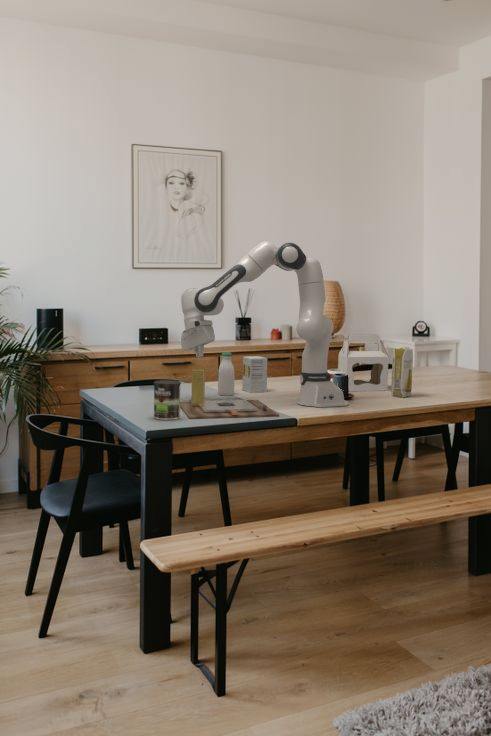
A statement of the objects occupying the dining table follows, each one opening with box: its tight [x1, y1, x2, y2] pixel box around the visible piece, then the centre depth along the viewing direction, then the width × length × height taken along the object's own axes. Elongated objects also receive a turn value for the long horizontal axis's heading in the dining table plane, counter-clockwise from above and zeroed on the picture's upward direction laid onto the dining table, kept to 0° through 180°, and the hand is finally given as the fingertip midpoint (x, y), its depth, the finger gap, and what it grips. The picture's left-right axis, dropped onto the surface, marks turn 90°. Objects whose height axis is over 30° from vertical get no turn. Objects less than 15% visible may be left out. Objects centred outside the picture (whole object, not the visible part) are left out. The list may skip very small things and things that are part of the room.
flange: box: [191, 369, 258, 415], centre depth 283 cm, size 25×29×15 cm
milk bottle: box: [217, 351, 235, 397], centre depth 326 cm, size 8×8×20 cm
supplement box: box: [242, 355, 268, 394], centre depth 339 cm, size 10×9×17 cm
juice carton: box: [390, 345, 414, 398], centre depth 329 cm, size 9×8×24 cm
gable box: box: [337, 333, 389, 393], centre depth 350 cm, size 22×13×28 cm, turn 102°
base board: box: [180, 399, 280, 420], centre depth 288 cm, size 36×36×3 cm
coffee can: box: [153, 379, 182, 421], centre depth 268 cm, size 10×10×14 cm
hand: (200, 356), depth 300 cm, fingers closed
